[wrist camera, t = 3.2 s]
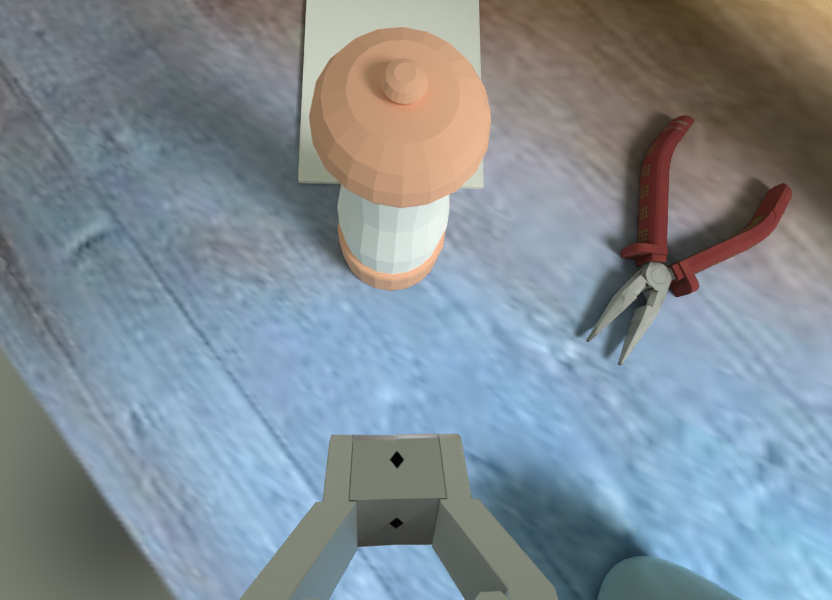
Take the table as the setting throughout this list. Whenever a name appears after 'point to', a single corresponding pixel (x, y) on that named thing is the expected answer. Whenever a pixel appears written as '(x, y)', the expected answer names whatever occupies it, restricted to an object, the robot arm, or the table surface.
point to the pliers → (654, 241)
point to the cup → (658, 582)
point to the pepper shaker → (397, 147)
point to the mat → (363, 13)
